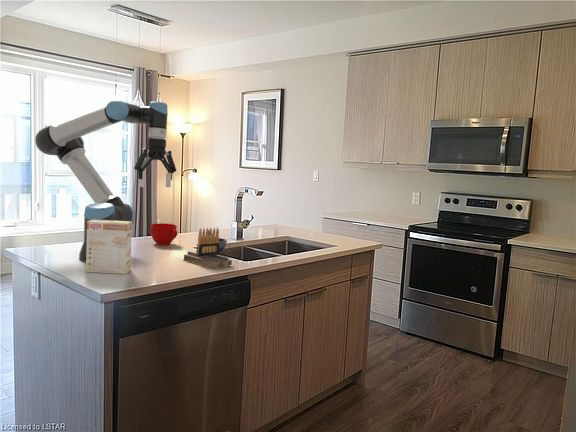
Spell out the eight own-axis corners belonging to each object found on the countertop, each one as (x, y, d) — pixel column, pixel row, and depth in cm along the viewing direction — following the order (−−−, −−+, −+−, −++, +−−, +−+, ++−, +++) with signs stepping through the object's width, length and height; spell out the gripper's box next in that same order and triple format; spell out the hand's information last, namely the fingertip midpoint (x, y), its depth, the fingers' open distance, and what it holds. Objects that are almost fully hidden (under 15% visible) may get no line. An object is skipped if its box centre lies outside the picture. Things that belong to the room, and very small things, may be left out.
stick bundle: (214, 268, 194) (214, 260, 194) (183, 260, 206) (184, 252, 206) (231, 265, 202) (232, 257, 201) (201, 257, 214) (201, 249, 214)
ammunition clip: (198, 256, 199) (199, 228, 198) (196, 255, 201) (197, 227, 199) (219, 254, 207) (220, 227, 205) (216, 253, 208) (218, 226, 207)
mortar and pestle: (217, 250, 233) (218, 227, 232) (229, 254, 227) (231, 229, 226) (199, 253, 225) (200, 228, 224) (211, 256, 219) (212, 231, 217)
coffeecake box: (131, 270, 182) (132, 221, 180) (125, 274, 175) (127, 223, 173) (92, 268, 182) (93, 218, 179) (85, 272, 174) (86, 220, 172)
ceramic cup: (165, 248, 230) (166, 228, 229) (144, 243, 240) (145, 224, 239) (186, 246, 241) (186, 227, 239) (165, 241, 251) (166, 222, 250)
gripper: (137, 135, 190) (135, 187, 192) (185, 141, 209) (183, 188, 212) (126, 135, 194) (125, 186, 197) (175, 140, 214) (173, 186, 216)
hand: (155, 187), depth 204 cm, fingers open, 13 cm apart
